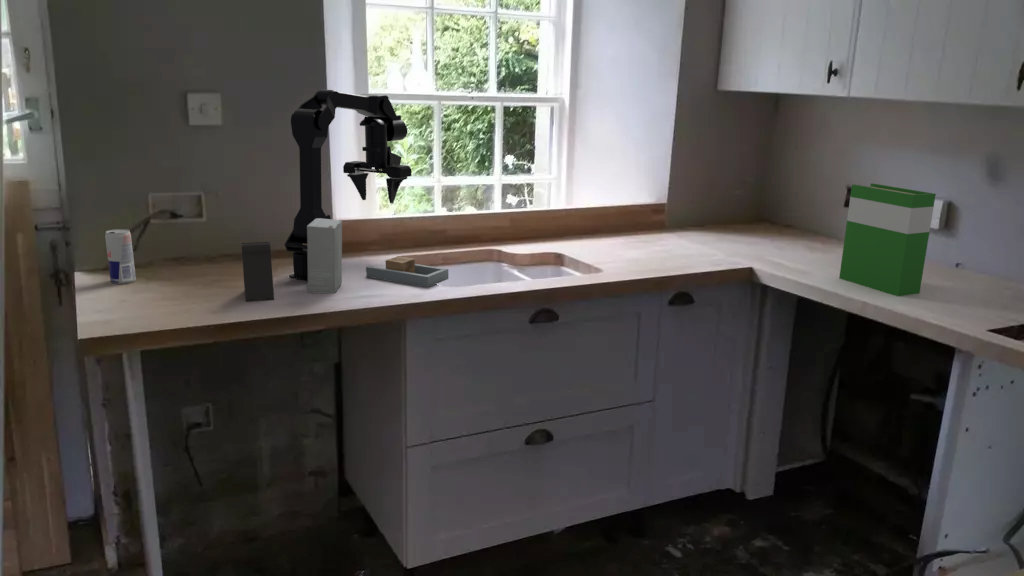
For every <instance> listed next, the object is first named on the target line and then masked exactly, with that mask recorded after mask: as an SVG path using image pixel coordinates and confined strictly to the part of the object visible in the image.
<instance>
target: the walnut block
mask: <svg viewBox="0 0 1024 576" xmlns="http://www.w3.org/2000/svg"><path fill="white" fill-rule="evenodd" d="M415 264H416V259H415V258H411V257H405V256H399V255H398V256H396V257H392V258H388V259H386V260H385V269H391V270H397V271H403V272H410V273H415Z"/></svg>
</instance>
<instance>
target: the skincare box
mask: <svg viewBox="0 0 1024 576" xmlns="http://www.w3.org/2000/svg"><path fill="white" fill-rule="evenodd" d="M306 245H307V261H308V280H307V292H308V293H312V294H313V293H314V294H315V293H318V294H335V293H336V292H337V290H338V289H339V288H340V286H341V285H342V284H343V283H342V282H343V279H342V277H343V276H342V275H343V272H342V270H343V267H342V266H343V220H342V219H332V218H331V219H322V218H316V219H315V220H313V221H312V222H311V223H310V224H309V225H308V226H307V244H306Z"/></svg>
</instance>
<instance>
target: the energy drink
mask: <svg viewBox="0 0 1024 576" xmlns="http://www.w3.org/2000/svg"><path fill="white" fill-rule="evenodd" d="M104 237H105V246H106V255H107V262H108V272H109V279H110V282H111V283H112V284H114V285H124V284H130V283H131V284H132V283H134V282H135V281H136V279H137V276H136V268H135V260H134V251H133V249H134V248H133V243H132V233H131V232H130V229H125V228H118V229H116V228H115V229H110V230H106V231H105V235H104Z"/></svg>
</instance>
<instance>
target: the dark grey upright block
mask: <svg viewBox="0 0 1024 576" xmlns="http://www.w3.org/2000/svg"><path fill="white" fill-rule="evenodd" d="M240 245H241V258H242V271H243V272H242V273H243V286H244V297H245V302H246V303H247V302H258V301H270V300H271V301H274V300H275V291H274V278H273V268H272V266H273V265H272V254H271V251H272V250H271V242H270V241H262V242H241V244H240Z"/></svg>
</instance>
